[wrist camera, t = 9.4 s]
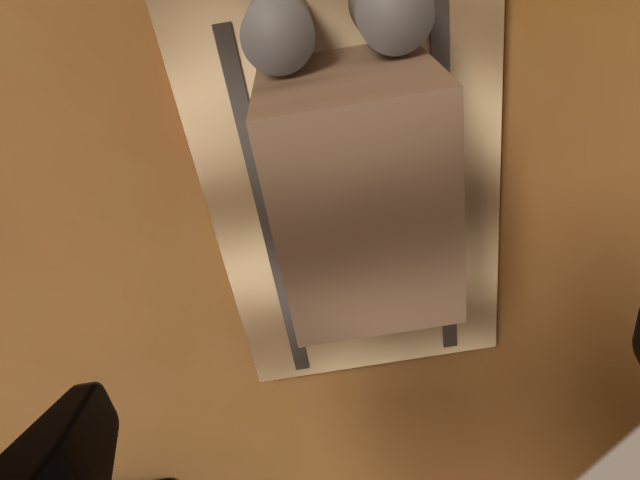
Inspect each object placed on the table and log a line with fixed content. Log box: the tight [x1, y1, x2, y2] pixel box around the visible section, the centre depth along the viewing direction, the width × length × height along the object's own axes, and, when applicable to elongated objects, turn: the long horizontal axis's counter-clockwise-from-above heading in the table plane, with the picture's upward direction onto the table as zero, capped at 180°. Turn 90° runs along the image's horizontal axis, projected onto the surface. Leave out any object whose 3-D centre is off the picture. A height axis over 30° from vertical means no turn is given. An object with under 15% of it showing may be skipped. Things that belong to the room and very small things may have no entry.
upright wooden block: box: [246, 44, 466, 348], centre depth 16 cm, size 7×5×6 cm
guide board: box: [145, 0, 505, 382], centre depth 19 cm, size 17×11×4 cm, turn 9°
